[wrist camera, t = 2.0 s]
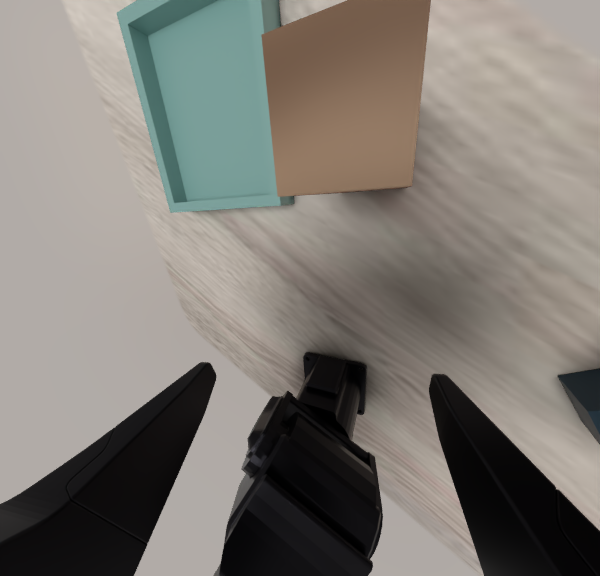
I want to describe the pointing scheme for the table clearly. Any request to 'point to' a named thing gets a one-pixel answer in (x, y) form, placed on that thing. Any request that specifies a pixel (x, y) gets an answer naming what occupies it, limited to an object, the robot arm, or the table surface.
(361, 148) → the tall brown wood pillar
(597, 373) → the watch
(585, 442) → the table surface
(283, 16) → the table surface
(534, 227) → the table surface
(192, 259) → the table surface
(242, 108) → the tray
